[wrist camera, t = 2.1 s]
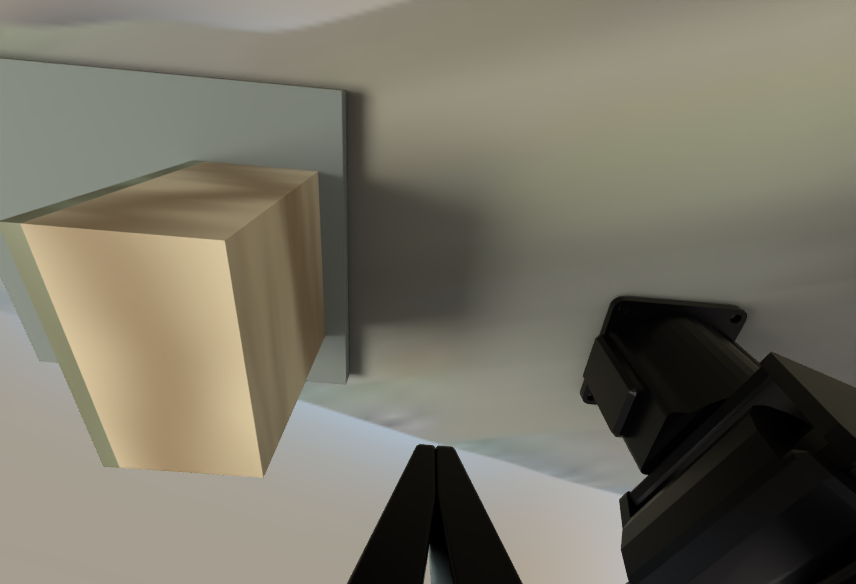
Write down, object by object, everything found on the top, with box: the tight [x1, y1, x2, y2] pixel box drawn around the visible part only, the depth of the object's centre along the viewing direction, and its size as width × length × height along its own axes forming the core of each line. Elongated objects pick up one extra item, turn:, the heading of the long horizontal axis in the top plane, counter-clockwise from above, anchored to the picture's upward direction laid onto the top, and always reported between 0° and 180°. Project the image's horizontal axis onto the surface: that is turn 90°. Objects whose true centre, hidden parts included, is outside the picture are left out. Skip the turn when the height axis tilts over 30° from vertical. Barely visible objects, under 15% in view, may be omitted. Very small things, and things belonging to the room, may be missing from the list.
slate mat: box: [0, 58, 349, 385], centre depth 18 cm, size 16×14×1 cm
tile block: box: [0, 160, 325, 478], centre depth 14 cm, size 5×8×8 cm, turn 175°
